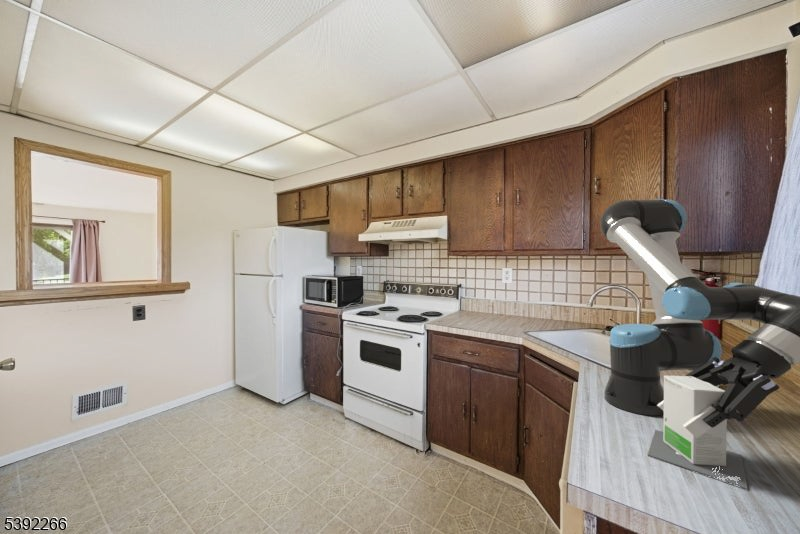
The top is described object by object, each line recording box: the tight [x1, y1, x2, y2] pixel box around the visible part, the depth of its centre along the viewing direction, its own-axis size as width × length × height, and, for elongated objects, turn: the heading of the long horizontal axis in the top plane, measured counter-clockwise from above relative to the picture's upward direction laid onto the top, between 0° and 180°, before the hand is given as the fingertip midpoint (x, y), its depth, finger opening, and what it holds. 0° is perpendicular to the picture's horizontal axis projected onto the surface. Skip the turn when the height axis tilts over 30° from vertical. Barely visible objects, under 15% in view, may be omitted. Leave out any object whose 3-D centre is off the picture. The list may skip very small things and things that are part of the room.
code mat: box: [647, 429, 749, 491], centre depth 63 cm, size 14×14×1 cm
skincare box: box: [662, 375, 728, 466], centre depth 63 cm, size 8×7×16 cm
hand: (675, 420), depth 64 cm, fingers closed on skincare box, 9 cm apart
